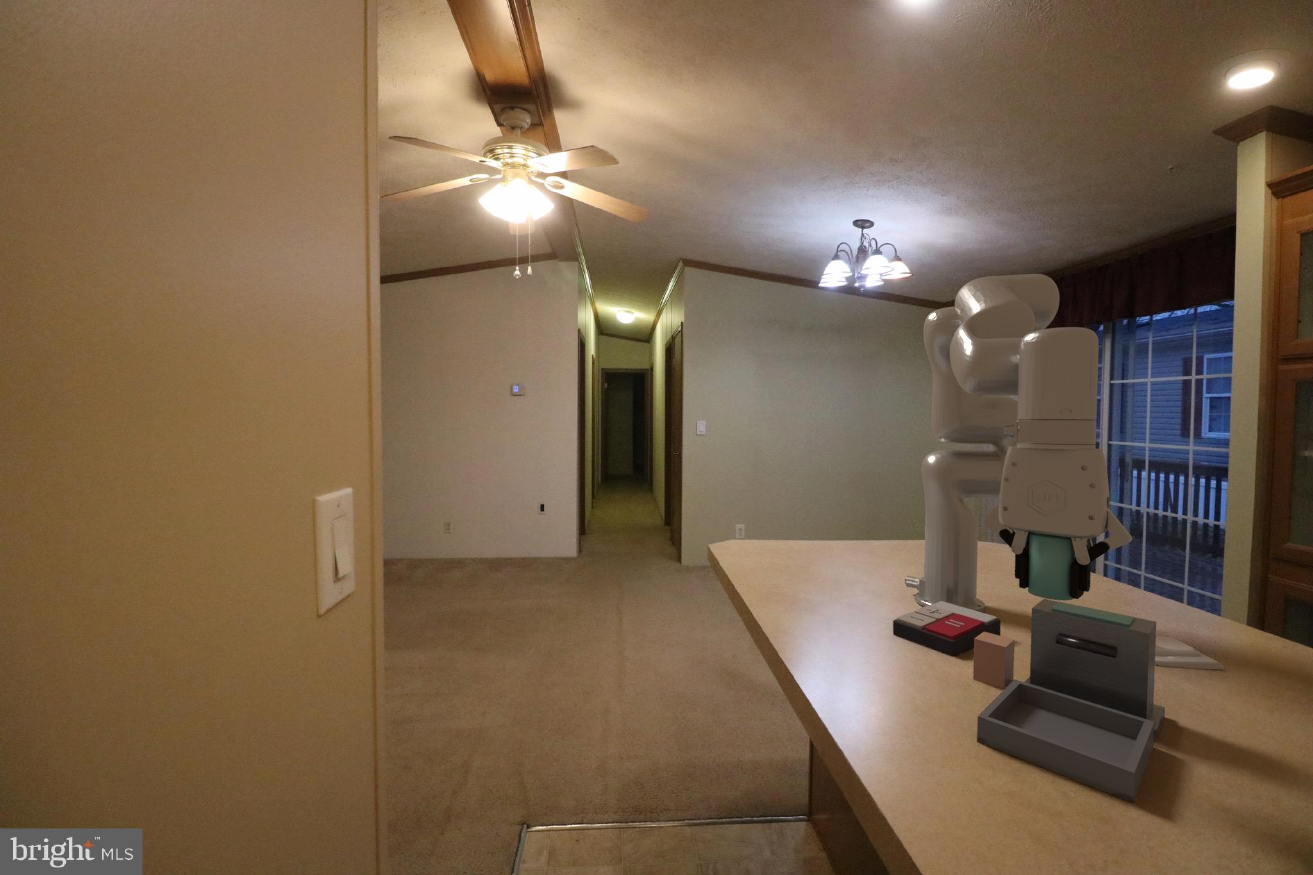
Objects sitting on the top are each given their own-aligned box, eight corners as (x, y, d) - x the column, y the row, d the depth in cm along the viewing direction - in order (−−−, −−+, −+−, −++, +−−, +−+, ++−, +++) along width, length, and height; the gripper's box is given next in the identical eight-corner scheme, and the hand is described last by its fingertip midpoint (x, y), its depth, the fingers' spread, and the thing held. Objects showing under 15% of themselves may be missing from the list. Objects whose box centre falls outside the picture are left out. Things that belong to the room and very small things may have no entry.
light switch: (1087, 620, 97) (1171, 621, 95) (1087, 644, 97) (1172, 645, 95) (1127, 645, 87) (1223, 647, 84) (1128, 671, 87) (1224, 674, 84)
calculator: (891, 616, 98) (940, 597, 106) (891, 640, 98) (940, 619, 106) (953, 636, 88) (1001, 614, 96) (953, 663, 89) (1001, 638, 97)
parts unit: (1018, 696, 76) (1020, 605, 75) (1035, 678, 81) (1037, 593, 81) (1155, 741, 65) (1159, 635, 65) (1164, 716, 71) (1168, 619, 70)
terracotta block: (973, 679, 81) (974, 638, 81) (982, 671, 84) (983, 631, 83) (1004, 689, 78) (1005, 646, 78) (1013, 680, 81) (1014, 639, 80)
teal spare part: (1022, 593, 66) (1024, 534, 66) (1034, 586, 69) (1035, 530, 68) (1068, 602, 62) (1070, 540, 62) (1078, 595, 65) (1079, 535, 65)
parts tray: (976, 741, 65) (977, 716, 65) (1014, 701, 75) (1014, 679, 74) (1133, 802, 55) (1134, 772, 55) (1153, 747, 64) (1154, 721, 64)
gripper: (965, 434, 69) (961, 581, 69) (1144, 438, 56) (1139, 617, 57) (986, 434, 74) (983, 571, 74) (1156, 437, 61) (1151, 602, 62)
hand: (1050, 589), depth 65 cm, fingers closed on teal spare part, 4 cm apart
